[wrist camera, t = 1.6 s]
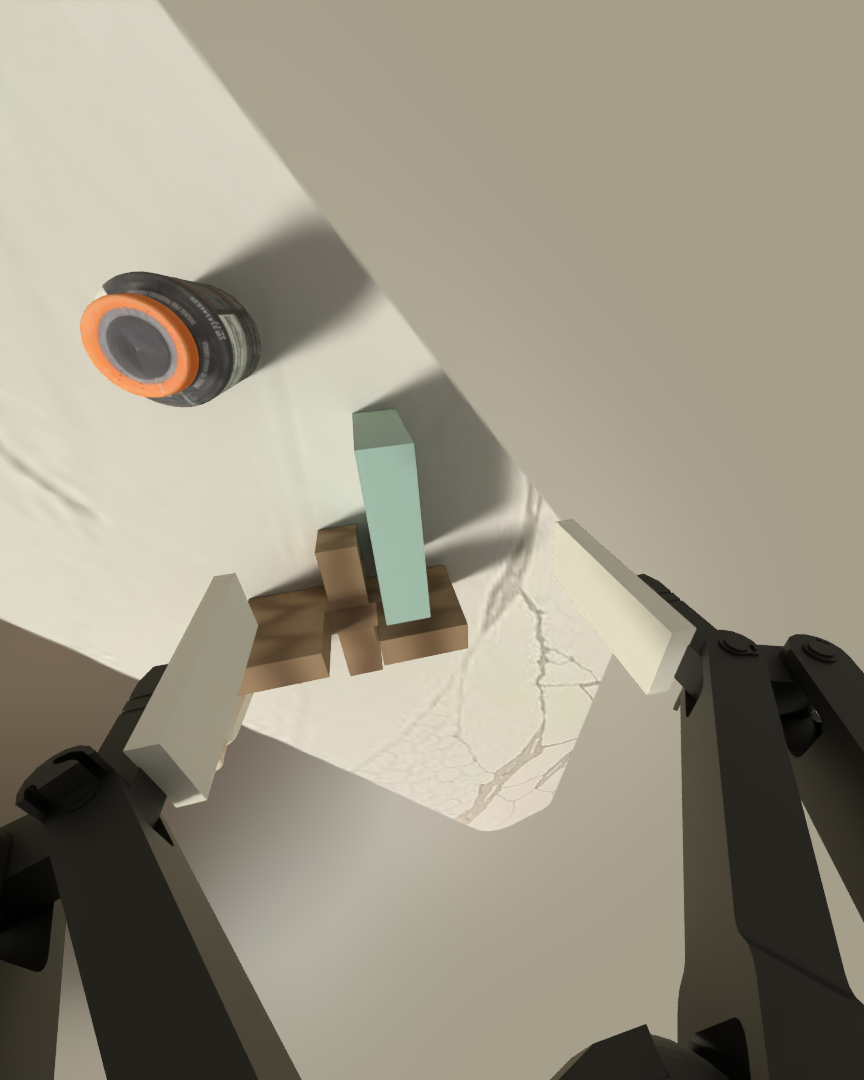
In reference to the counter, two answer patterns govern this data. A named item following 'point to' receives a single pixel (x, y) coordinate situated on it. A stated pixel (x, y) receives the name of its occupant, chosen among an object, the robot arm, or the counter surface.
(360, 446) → the teal block
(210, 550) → the counter surface
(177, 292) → the pill bottle
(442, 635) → the walnut joint base
